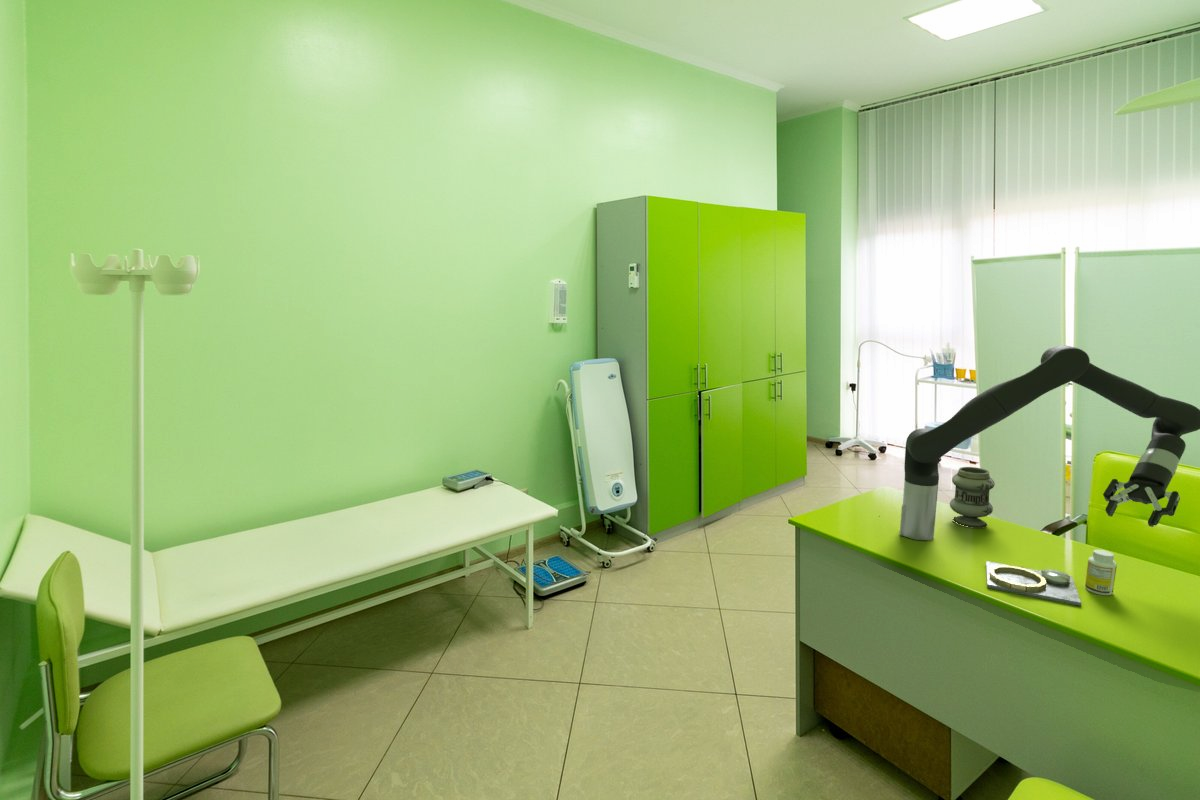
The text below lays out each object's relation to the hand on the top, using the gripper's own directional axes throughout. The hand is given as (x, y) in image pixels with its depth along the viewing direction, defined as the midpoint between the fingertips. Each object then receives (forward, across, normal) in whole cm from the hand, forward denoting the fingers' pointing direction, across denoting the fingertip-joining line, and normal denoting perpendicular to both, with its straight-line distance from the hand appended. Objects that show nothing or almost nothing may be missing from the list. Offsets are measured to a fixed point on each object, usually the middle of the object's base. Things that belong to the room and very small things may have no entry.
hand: (1129, 519), depth 157 cm
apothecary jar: (+7, -43, +17) cm, 47 cm away
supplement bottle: (+20, 0, +3) cm, 20 cm away
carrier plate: (+28, -11, -4) cm, 30 cm away
